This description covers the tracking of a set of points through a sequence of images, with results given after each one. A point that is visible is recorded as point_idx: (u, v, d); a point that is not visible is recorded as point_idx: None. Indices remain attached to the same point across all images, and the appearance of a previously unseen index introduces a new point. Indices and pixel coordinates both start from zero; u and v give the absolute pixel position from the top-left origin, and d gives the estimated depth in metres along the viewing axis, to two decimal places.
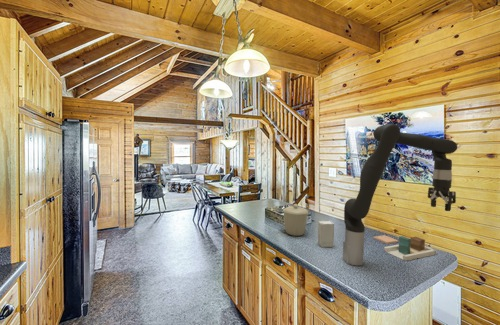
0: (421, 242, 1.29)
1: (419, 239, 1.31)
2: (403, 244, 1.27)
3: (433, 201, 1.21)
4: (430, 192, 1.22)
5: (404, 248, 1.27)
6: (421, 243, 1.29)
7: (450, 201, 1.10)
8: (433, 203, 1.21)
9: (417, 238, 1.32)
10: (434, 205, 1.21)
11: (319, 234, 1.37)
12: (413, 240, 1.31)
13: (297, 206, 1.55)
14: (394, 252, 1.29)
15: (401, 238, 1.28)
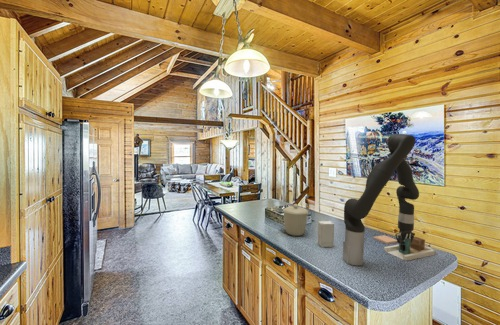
0: (421, 242, 1.29)
1: (419, 239, 1.31)
2: None
3: None
4: None
5: None
6: (421, 243, 1.29)
7: (411, 241, 1.28)
8: None
9: (417, 238, 1.32)
10: None
11: (319, 234, 1.37)
12: (413, 240, 1.31)
13: (297, 206, 1.55)
14: (394, 252, 1.29)
15: None
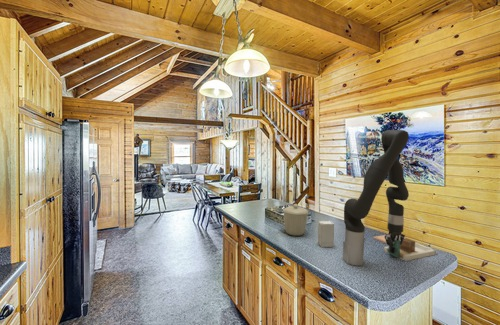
0: (411, 244, 1.26)
1: (409, 241, 1.28)
2: None
3: None
4: None
5: (394, 250, 1.24)
6: (411, 245, 1.26)
7: None
8: None
9: (407, 240, 1.29)
10: None
11: (319, 234, 1.37)
12: (403, 242, 1.28)
13: (297, 206, 1.55)
14: None
15: None
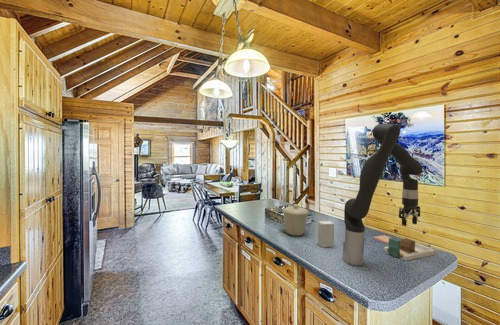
0: (411, 244, 1.26)
1: (409, 241, 1.28)
2: (393, 246, 1.24)
3: None
4: None
5: (394, 250, 1.24)
6: (411, 245, 1.26)
7: (419, 214, 1.28)
8: None
9: (407, 240, 1.29)
10: None
11: (319, 234, 1.37)
12: (403, 242, 1.28)
13: (297, 206, 1.55)
14: None
15: (391, 240, 1.25)
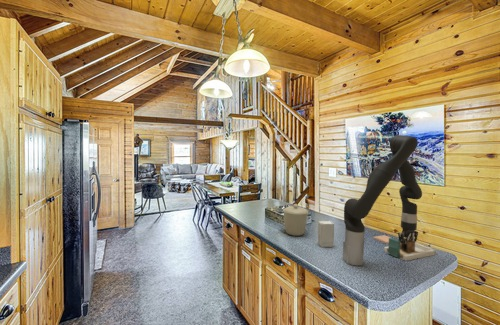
0: (411, 244, 1.26)
1: (409, 241, 1.28)
2: (393, 246, 1.24)
3: None
4: None
5: (393, 250, 1.24)
6: (411, 245, 1.26)
7: (416, 239, 1.29)
8: None
9: None
10: None
11: (319, 234, 1.37)
12: None
13: (297, 206, 1.55)
14: None
15: (391, 240, 1.25)
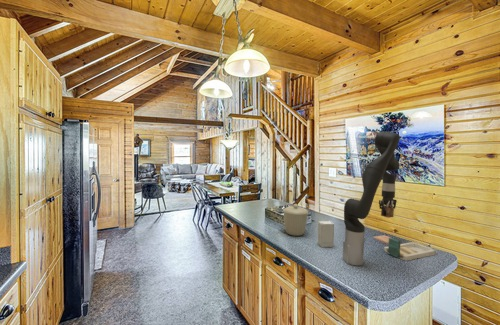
0: (390, 210, 1.44)
1: (389, 207, 1.46)
2: (393, 246, 1.24)
3: None
4: None
5: (393, 250, 1.24)
6: (390, 211, 1.44)
7: (394, 207, 1.47)
8: None
9: (387, 207, 1.47)
10: None
11: (319, 234, 1.37)
12: None
13: (297, 206, 1.55)
14: None
15: (391, 240, 1.25)
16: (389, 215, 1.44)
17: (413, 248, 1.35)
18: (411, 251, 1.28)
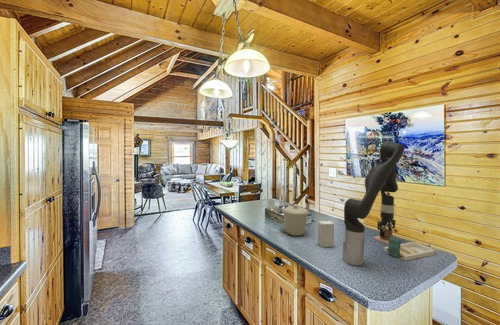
0: (388, 233, 1.45)
1: (387, 230, 1.46)
2: (393, 246, 1.24)
3: None
4: None
5: (393, 250, 1.24)
6: (389, 234, 1.45)
7: (394, 227, 1.49)
8: None
9: (386, 229, 1.48)
10: None
11: (319, 234, 1.37)
12: None
13: (297, 206, 1.55)
14: None
15: (391, 240, 1.25)
16: (388, 238, 1.45)
17: (413, 248, 1.35)
18: (411, 251, 1.28)
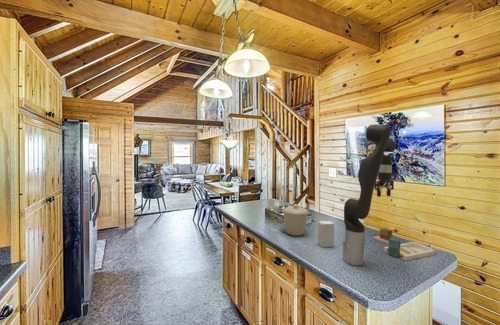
0: (388, 233, 1.45)
1: (387, 230, 1.46)
2: (393, 246, 1.24)
3: None
4: None
5: (393, 250, 1.24)
6: (389, 234, 1.45)
7: (393, 188, 1.46)
8: None
9: (386, 229, 1.48)
10: None
11: (319, 234, 1.37)
12: (382, 231, 1.47)
13: (297, 206, 1.55)
14: None
15: (391, 240, 1.25)
16: (388, 238, 1.45)
17: (413, 248, 1.35)
18: (411, 251, 1.28)
